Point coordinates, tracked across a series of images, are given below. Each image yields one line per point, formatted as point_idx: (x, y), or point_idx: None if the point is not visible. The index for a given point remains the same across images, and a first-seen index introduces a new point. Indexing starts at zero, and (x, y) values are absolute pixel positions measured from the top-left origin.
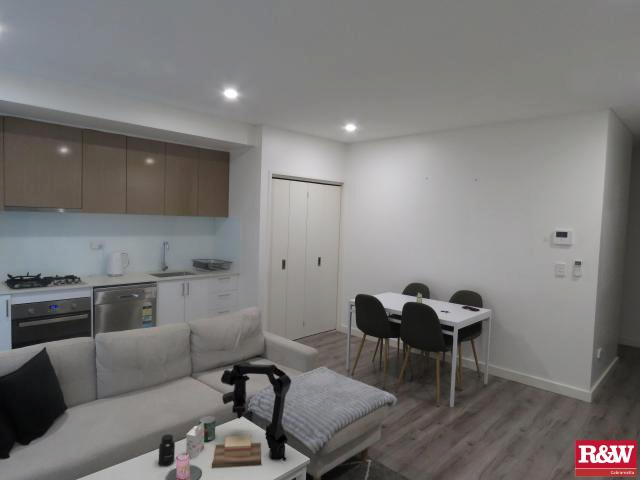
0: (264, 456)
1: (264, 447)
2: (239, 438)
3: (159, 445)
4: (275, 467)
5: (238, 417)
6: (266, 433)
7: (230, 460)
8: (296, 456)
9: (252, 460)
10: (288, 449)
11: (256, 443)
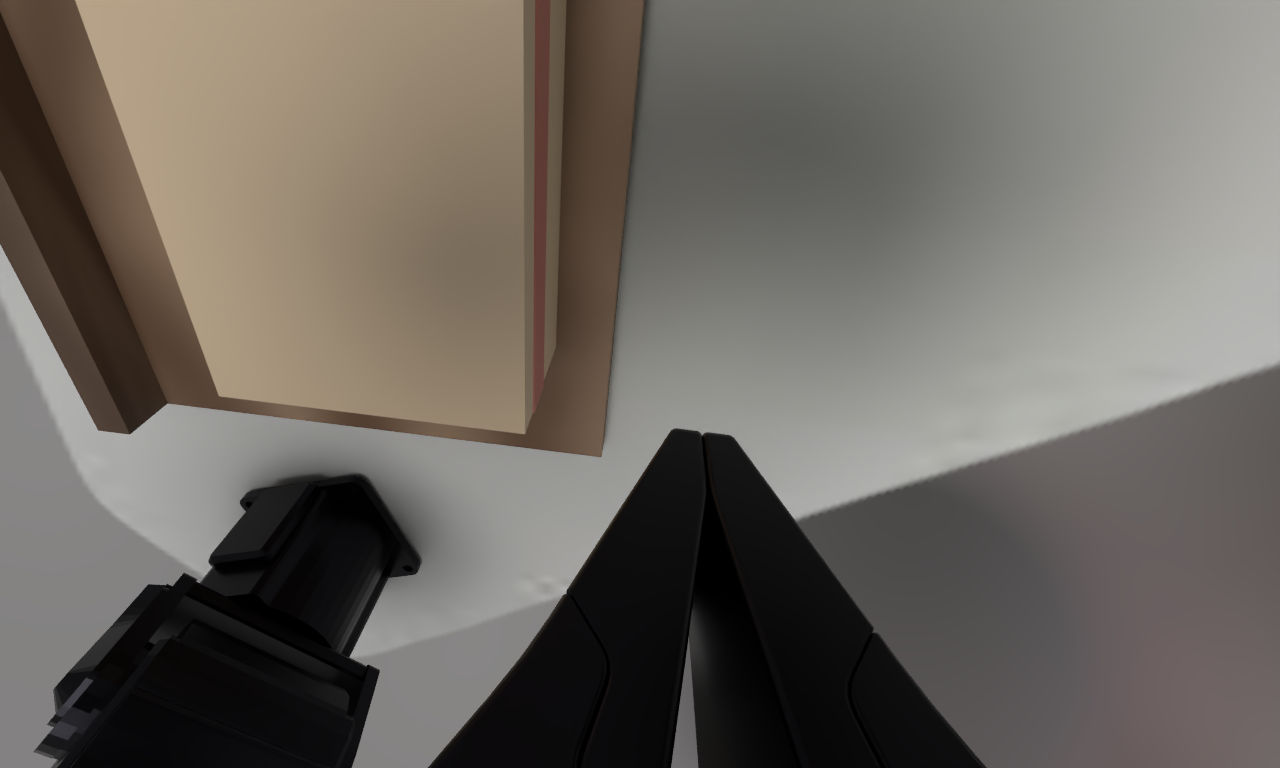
0: (363, 439)
1: (539, 464)
2: (428, 247)
3: None
4: (188, 492)
5: (658, 461)
6: (99, 730)
7: None
8: (378, 636)
9: (68, 342)
10: (484, 614)
11: (589, 413)
